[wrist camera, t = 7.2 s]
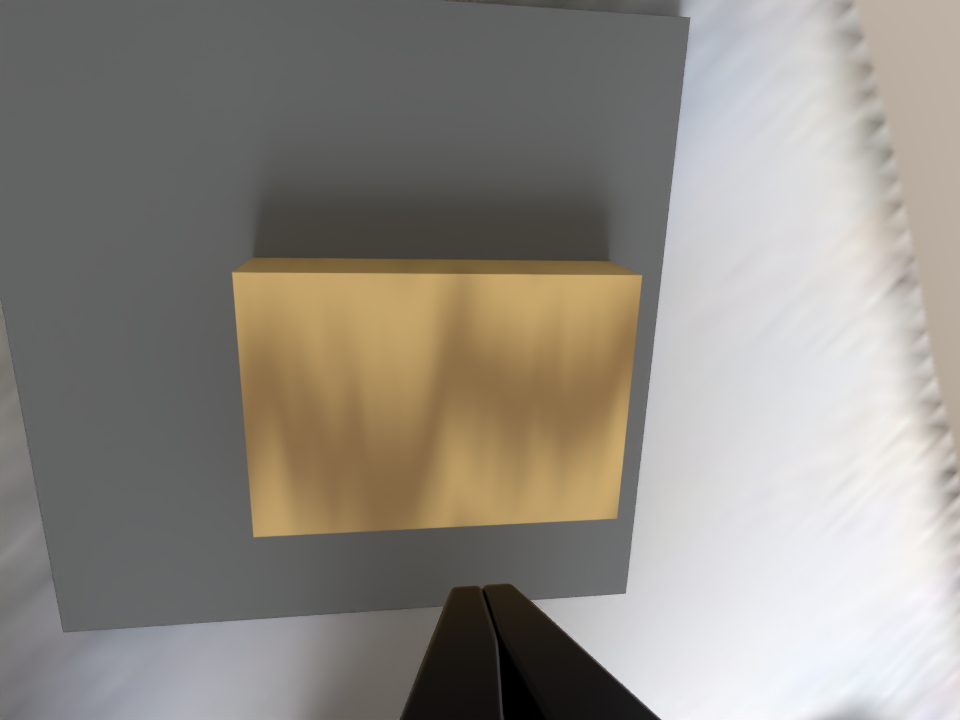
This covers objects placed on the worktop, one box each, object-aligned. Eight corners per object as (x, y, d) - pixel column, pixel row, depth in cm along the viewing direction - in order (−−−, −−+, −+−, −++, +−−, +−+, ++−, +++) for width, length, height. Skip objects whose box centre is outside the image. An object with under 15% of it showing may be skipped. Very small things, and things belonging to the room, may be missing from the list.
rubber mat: (619, 582, 23) (625, 593, 22) (72, 619, 20) (63, 632, 20) (680, 22, 18) (690, 17, 17) (-45, -28, 15) (-62, -36, 14)
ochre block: (269, 491, 19) (590, 478, 21) (253, 537, 17) (617, 518, 18) (252, 257, 17) (609, 261, 19) (232, 272, 15) (641, 275, 16)
